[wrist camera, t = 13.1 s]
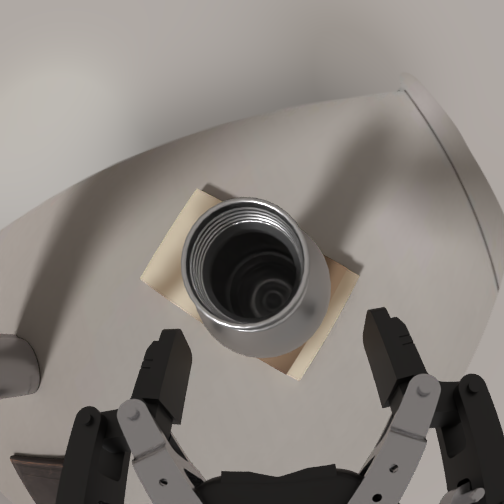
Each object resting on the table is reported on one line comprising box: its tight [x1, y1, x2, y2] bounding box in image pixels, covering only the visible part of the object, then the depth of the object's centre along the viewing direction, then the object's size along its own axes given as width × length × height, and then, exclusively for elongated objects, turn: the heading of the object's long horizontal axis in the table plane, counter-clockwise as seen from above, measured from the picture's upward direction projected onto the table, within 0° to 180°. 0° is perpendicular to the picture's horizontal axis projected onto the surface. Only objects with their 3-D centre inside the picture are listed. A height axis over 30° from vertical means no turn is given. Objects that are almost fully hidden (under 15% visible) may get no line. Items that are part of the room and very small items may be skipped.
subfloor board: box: [140, 189, 359, 381], centre depth 28 cm, size 20×12×1 cm, turn 59°
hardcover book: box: [10, 455, 64, 504], centre depth 23 cm, size 16×23×2 cm
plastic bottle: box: [181, 197, 331, 358], centre depth 17 cm, size 6×7×20 cm
